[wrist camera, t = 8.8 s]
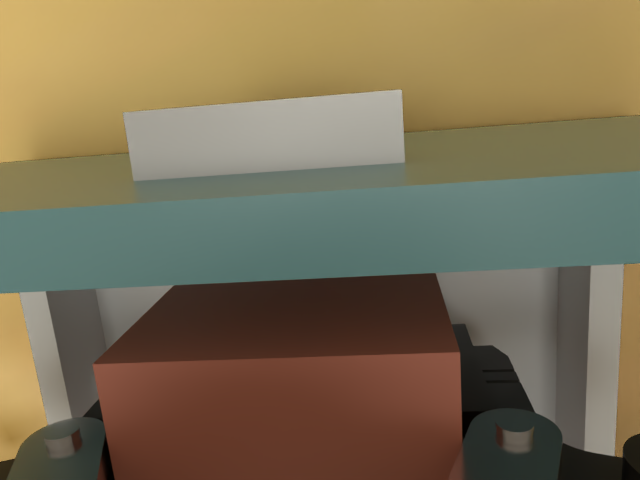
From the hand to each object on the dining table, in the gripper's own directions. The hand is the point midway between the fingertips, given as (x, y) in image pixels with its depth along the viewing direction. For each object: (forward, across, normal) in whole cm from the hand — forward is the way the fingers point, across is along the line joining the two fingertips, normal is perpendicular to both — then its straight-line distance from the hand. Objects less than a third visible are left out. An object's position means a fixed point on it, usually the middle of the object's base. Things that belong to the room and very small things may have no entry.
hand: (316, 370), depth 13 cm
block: (0, 0, 0) cm, 0 cm away
